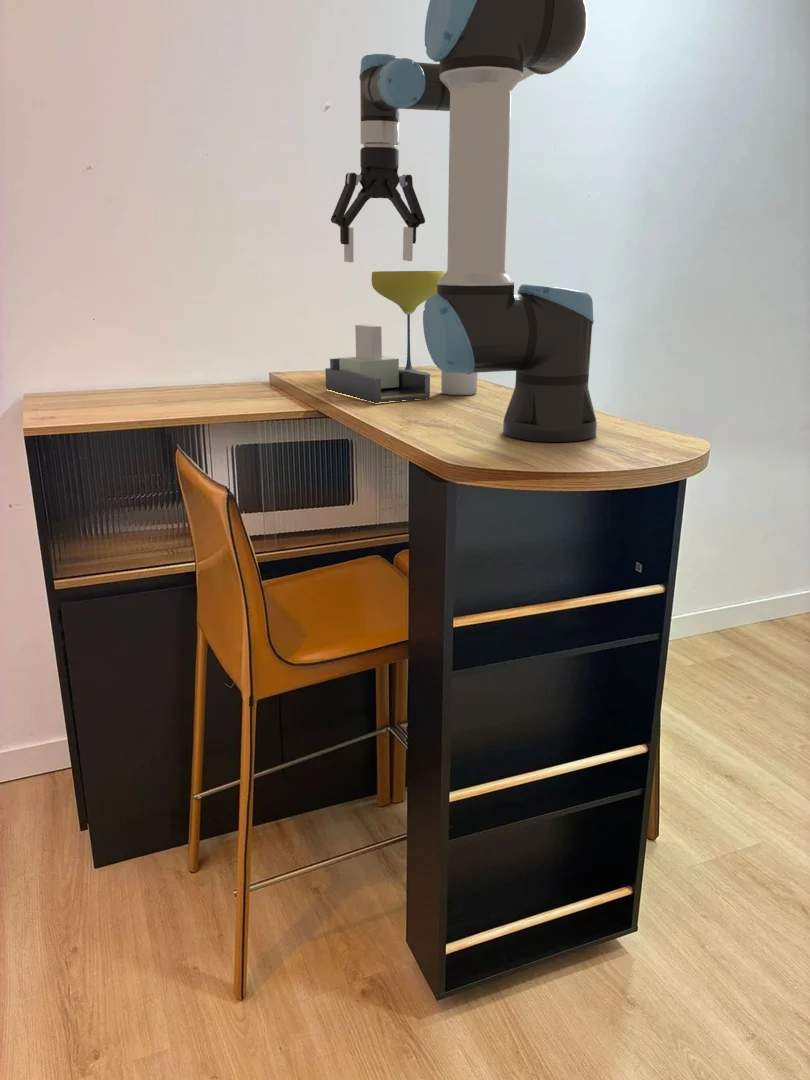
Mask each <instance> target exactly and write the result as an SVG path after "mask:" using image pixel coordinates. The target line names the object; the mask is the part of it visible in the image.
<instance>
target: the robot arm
mask: <svg viewBox="0 0 810 1080" xmlns="http://www.w3.org/2000/svg"><path fill="white" fill-rule="evenodd" d="M588 23H589V17H588V9H587V5H586V1H585V0H429V2H428V6H427V12H426V17H425V24H424V25H425V26H424V46H425V50H426V51H425V52H426V53H425V54H426V55H427V57H428V58H429V59H430V60H432V61H433V62H435V63H428V62H420V61H419V62H417V61H415V60H413V59H411V58H407V57H402V58H399V57H397V56H396V55H394V54H387V53H372V54H366V55H364V56H363V57H362V58H361V60H360V72H359V76H358V77H359V84H360V88H359V89H360V96H359V97H360V107H359V108H360V144H361V145H363V147H361V149H360V150H359V151H360V154H359V155H360V157H359V158H360V160H359V161H360V162H359V163H360V164H359V165H360V173H359V174H357V173H356V172H347V173H346V174H345V177H344V178H345V180H344V186H343V188H342V191H341V192H340V196H339V198H338V200H337V204H336V206H335V208H334V211H333V212H332V216H331V218H330V222H331V223H333V224H335V225H337V226H338V227H339V229H340V231H339V232H340V233H339V234H340V237H339V238H340V239H339V240H340V241H339V242H340V244H341V245H343V248H344V249H343V250H344V251H343V255H344V256H343V257H344V259H343V261H344V262H345V263H354V261H355V260H354V227H350V226H351V224H352V223H353V221H354V220H355V218H356V217H357V216H358V214H359V213H360V211H362V209H363V207H364V206H365V205H366V203H367V202H368V201H369V200H370V199H388V200H389V201H390V202H391V203H392V205H393V206H394V208H395V209H396V211H397V212H398V213H399V214H398V215H400V216H401V219H402V220H403V221H404V223H405V224H406V226H403V230H402V231H403V233H402V234H403V235H402V261H405V262H413V249H414V247H413V246H414V244H417V243H416V242H417V228H419V227H420V225H424V224H425V223H426V217H425V216H424V213H423V211H422V208H421V204H420V202H419V199H418V196H417V195H416V192H415V188H414V185H413V183H414V182H413V176H412V174H402V175H399V172H398V171H399V170H398V169H399V165H400V164H399V162H400V159H399V158H400V157H399V155H400V153H399V148H397V146H398V145H399V144H400V109H401V110H414V111H416V110H417V111H443V112H449V135H448V136H449V143H448V144H449V145H448V203H447V204H448V205H447V206H448V210H447V211H448V212H447V269H446V272H445V274H444V275H443V276H442V278H441V279H440V280H439V281H438V282H437V294H434V295H432V296H430V297H429V298H428V299H427V300H426V301H424V310H423V311H422V312H423V313H422V327H423V335H424V340H425V344H426V348H427V350H428V354H429V356H430V358H431V360H432V362H433V363H434V365H435V366H436V367H437V368H438V369H439V370H440V371H441V372H442V371H443V372H446V373H464V374H467V375H468V374H472V373H477V374H478V373H494V372H495V373H499V372H514V371H515V384H514V385H515V386H514V388H513V392H512V395H511V398H510V400H509V403H508V406H507V408H506V412H505V414H504V417H503V423H502V424H503V425H502V427H503V428H502V433H503V434H504V435H505V436H507V437H509V438H513V439H517V440H522V441H523V440H524V441H529V442H530V441H531V442H544V443H545V442H546V443H567V442H578V441H580V442H581V441H585V440H590V439H592V438H594V437H596V435H597V426H598V425H597V422H598V421H597V417H596V413H595V410H594V406H593V402H592V398H591V394H590V391H589V390H590V388H589V379H590V378H589V376H590V362H591V350H592V349H591V347H592V335H593V334H592V333H593V325H594V323H595V321H594V303H593V299H592V296H591V295H590V294H589V293H588V292H586V291H582V290H576V289H571V288H570V289H569V288H563V287H555V286H545V285H536V284H521V285H520V286H519V288H518V290H517V293H515V282H514V280H513V279H512V278H511V277H510V276H509V275H508V273H507V272H506V246H507V245H506V244H507V243H506V242H507V241H506V240H507V218H508V217H507V214H508V213H507V212H508V191H509V190H508V189H509V188H508V187H509V185H508V184H509V164H510V163H509V162H510V159H509V158H510V139H511V138H510V135H511V134H510V133H511V109H512V108H511V106H512V91H513V90H514V88H515V87H516V86H517V84H518V83H520V82H522V81H524V80H526V79H527V78H529V77H531V76H533V75H534V74H535V75H541V76H543V75H548V74H551V73H553V72H556V71H557V70H559V69H561V68H563V67H565V66H566V65H567V64H569V63H570V62H571V61H572V60H573V59H574V58H575V57H576V56H577V54H579V52H580V51H581V49H582V46H583V44H584V42H585V39H586V35H587V31H588ZM358 184H360V185H361V186H362V188H360V190H359V192H358V194H357V196H356V198H355V199H354V201H353V202H352V203H351V205H350V206H349V204H350V202H351V199H352V197H353V195H354V192H355V189H356V186H358ZM398 185H400V187H401V189H402V192H403V196H404V198H405V200H406V202H405V201H404V200H403V198H402V197H401V194H400V192H399V191H398V189H397V187H398ZM406 203H407V205H406ZM348 206H349V208H348Z"/></svg>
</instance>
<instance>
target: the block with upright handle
mask: <svg viewBox="0 0 810 1080" xmlns="http://www.w3.org/2000/svg"><path fill="white" fill-rule="evenodd" d="M354 326H355V327H354V328H355V329H354V330H355V356H348V357H346V356H345V357H338V358H339V365H340V370H342V371H346V372H351V373H355V374H360V375H365V376H369V377H374V378H379V379H381V389H383V388H393V387H399V369H400V361H399V360H400V359H399V358H396V357H391V356H384V355H382V354H383V353H382V350H383V345H382V344H383V343H382V341H383V340H382V326H380V325H373V324H372V325H371V324H355V325H354Z"/></svg>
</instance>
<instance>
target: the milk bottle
mask: <svg viewBox="0 0 810 1080" xmlns="http://www.w3.org/2000/svg"><path fill="white" fill-rule="evenodd" d="M440 378H441V383H440V385H441V387H440V388H441V393H442V394H443V395H447V394H448V395H449V396H469V395H475V394H477V392H478V373H472V374H468V375H467V374H464V373H446V372H443V371H442V370H441V377H440ZM448 395H447V396H448Z"/></svg>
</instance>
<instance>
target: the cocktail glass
mask: <svg viewBox="0 0 810 1080" xmlns="http://www.w3.org/2000/svg"><path fill="white" fill-rule="evenodd" d="M445 273H446V272H445V271H444V270H443V271H442V270H439V271H438V270H400V271H395V270H393V271H392V270H391V271H390V270H389V271H388V270H387V271H385V270H384V271H371V278H370V279H371V280H370V281H371V287H372V289H374V291H375V292H377V294H379V295H381V296H382V297H383V298H386V299H387V300H390V301H391V302H392V303H394V304H396V305H397V306H398V307H399V308H400V309H401V311H402V312H403V313H404V315H406V317H407V318H406V319H407V320H406V321H407V326H406V327H407V331H406V332H407V335H406V336H407V339H406V341H407V342H406V343H407V345H406V346H407V349H406V350H407V354H406V355H407V356H406V365H405V367H404V368H403V370H408V371H413V372H419V373H424V374H429V375H430V376H431V373H430V372H429V373H428V372H426V371H419V370H416V369H414V368H413V367H412V361H411V315H413V313H414V312H415V311H416V309H418V307H419V306H420V305H421V304H423V303H425V302H426V300H427V299H428V298H429V297H430V296H432V295H434V294H437V282H438V281H439V280H440V279H441V278H442V276H443V275H444V274H445Z"/></svg>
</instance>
